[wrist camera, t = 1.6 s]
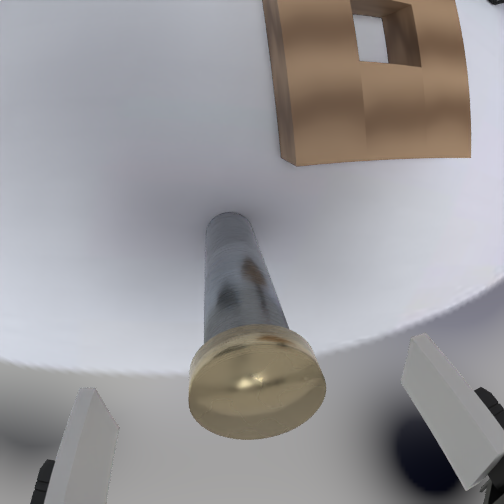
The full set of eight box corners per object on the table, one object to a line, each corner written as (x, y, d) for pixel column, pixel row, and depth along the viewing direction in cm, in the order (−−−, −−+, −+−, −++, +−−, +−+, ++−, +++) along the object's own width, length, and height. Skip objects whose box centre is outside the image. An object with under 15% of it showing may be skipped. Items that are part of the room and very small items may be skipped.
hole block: (253, -54, 17) (262, -83, 13) (413, -33, 18) (440, -48, 14) (281, 157, 25) (296, 166, 21) (437, 149, 26) (470, 157, 22)
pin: (194, 210, 26) (172, 364, 10) (256, 201, 27) (328, 339, 10) (204, 266, 28) (205, 445, 12) (262, 257, 29) (323, 426, 12)
